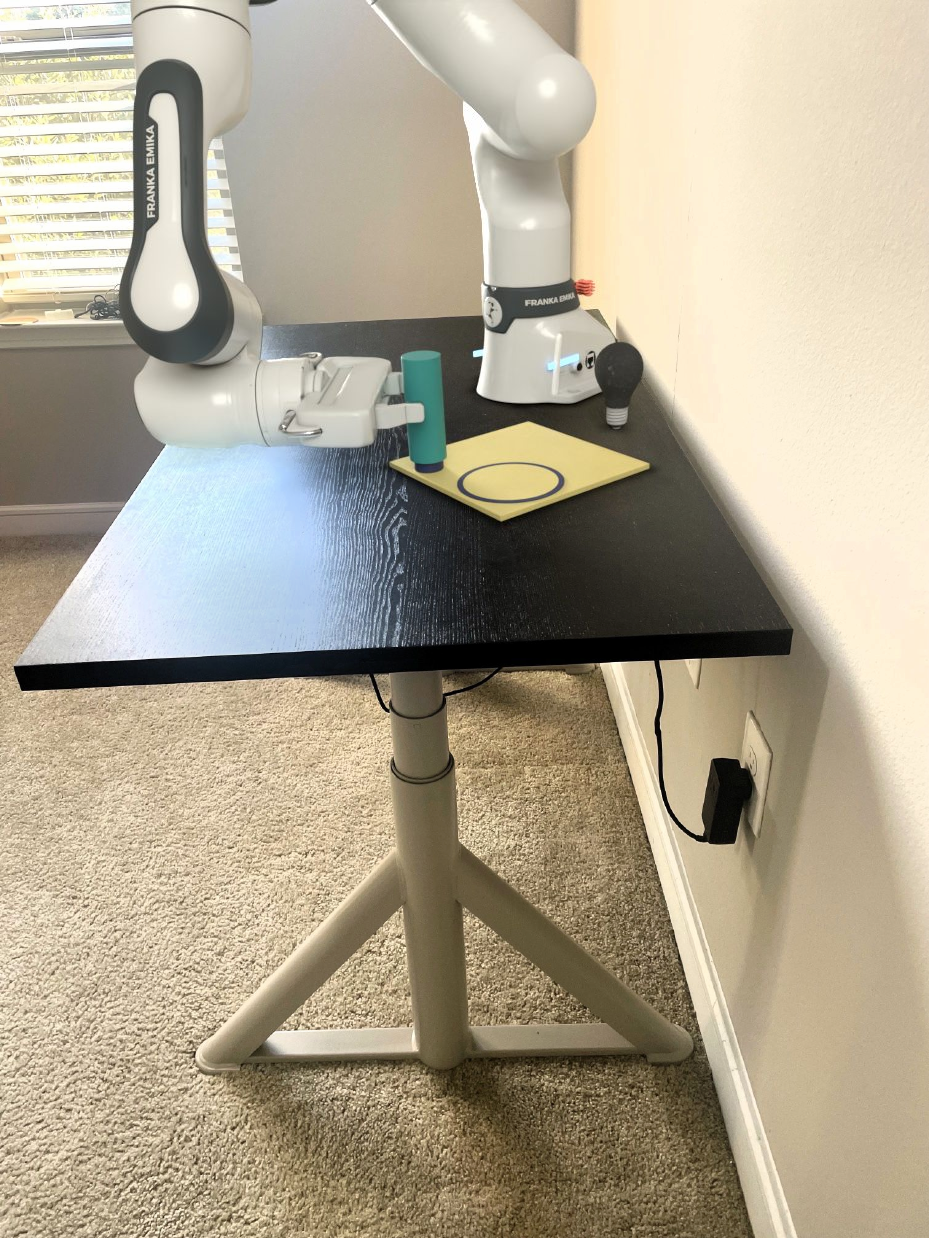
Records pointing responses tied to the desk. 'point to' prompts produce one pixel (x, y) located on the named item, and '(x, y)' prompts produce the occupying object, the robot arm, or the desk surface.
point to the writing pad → (522, 469)
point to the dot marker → (427, 387)
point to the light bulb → (618, 379)
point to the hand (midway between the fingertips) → (427, 397)
